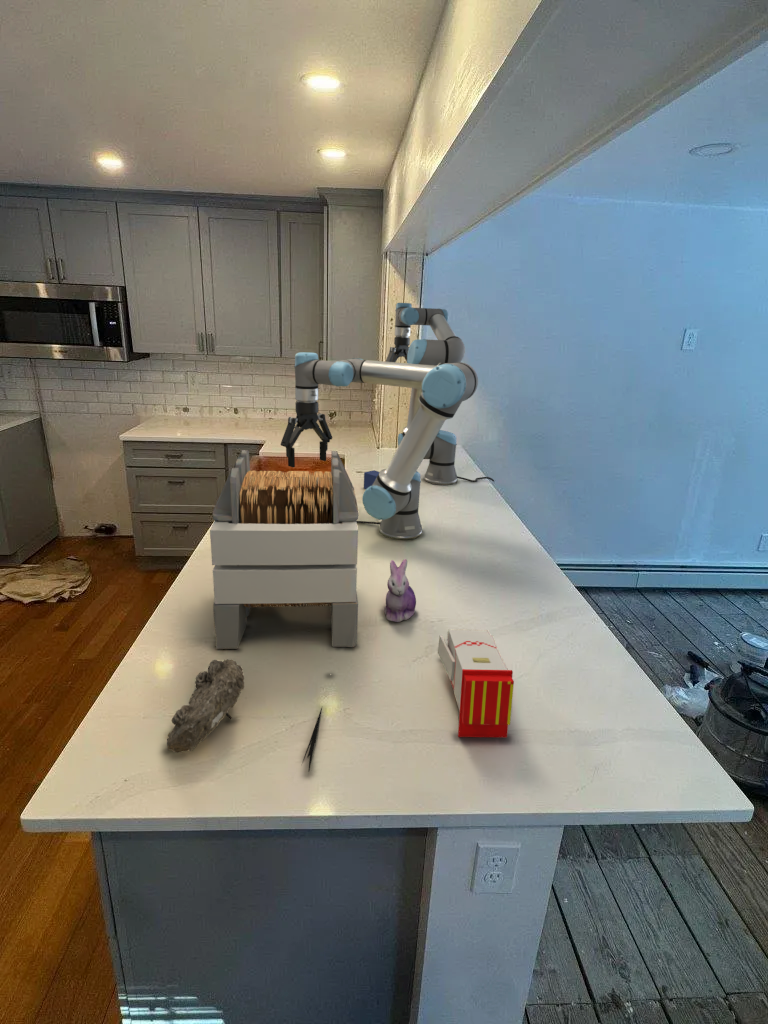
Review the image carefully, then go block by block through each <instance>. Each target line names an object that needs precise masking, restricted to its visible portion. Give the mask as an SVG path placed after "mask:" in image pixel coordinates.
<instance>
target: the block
mask: <svg viewBox="0 0 768 1024" xmlns="http://www.w3.org/2000/svg"><path fill="white" fill-rule="evenodd" d="M379 472H380V471H378V470H375V469H374V470H369V471H364V472H363V490H366V489H367V488H368V487H369V486H372V485H373V483H374V481H375V479H376V478H377V476H378V474H379Z"/></svg>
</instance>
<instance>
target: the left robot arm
mask: <svg viewBox="0 0 768 1024" xmlns="http://www.w3.org/2000/svg"><path fill="white" fill-rule="evenodd" d="M294 381H295V382H294V383H295V385H294V386H295V388H294V399H295V413H296V415H295V417H292V416H288V418H287V425H286V428H285V430H284V433H283V435H282V439H281V441H280V447H281V446H282V447H284V448H285V456H286V458H287V466H288V467H290V468H295V467H296V457H295V451H296V450H295V447H294V445H295V443H296V442H297V441H298V439H299V438H300V436H301V434H302V433H303V432H304V431H307V430H313V431H314V432H315V434H316V435H317V436H318V438H319V439H320V440H321V441H319V460H320V461H323V462H327V451H328V447H329V445H328V444H329V443H330V442H331V440H333V435H332V433H331V430H330V428H329V425H328V423H327V420H326V414H325V413H320V412H319V402H318V401H319V385H326V386H334V387H338V388H339V387H348V386H349V385H350V384H351V383H359V384H371V385H382V386H389V387H390V386H391V387H400V388H409V389H412V388H417V389H422V393H421V395H420V397H419V402H420V408H419V410H418V411H417V413H416V415H415V417H414V419H413V421H412V423H411V424H410V426H409V428H408V430H407V432H406V434H405V436H404V437H403V439H402V441H401V443H400V445H399V447H398V446H397V449H396V450H395V452H394V454H393V456H392V458H391V460H390V461H389V463H388V465H387V467H386V468H384V469H381V470H379V471H378V472H379V474H378V476H377V478H376V479H375V481H374V483H373V485H372V486H369V487H368V488H367V489H364V492H363V493H362V497H361V498H362V499H361V500H362V505H363V507H364V511H366V513H367V514H368V515H369V516H370V517H372V518H373V519H375V520H380V521H381V522H378V521H365V520H356V521H357V524H362V525H363V524H364V525H365V524H366V525H377V526H378V525H379V527H378V533H379V534H380V535H381V536H382V537H385V538H387V539H389V540H395V541H410V540H415V539H418V538H420V537H421V536H422V535H423V525H422V524H421V518H420V515H419V507H420V506H419V505H420V496H421V495H420V494H421V493H420V492H421V483H422V481H421V473H420V472H419V471H418V469H419V467H420V466H421V464H422V462H423V461H424V460H425V459H424V457H425V455H426V453H427V452H428V450H429V448H430V446H431V445H432V443H433V441H434V439H435V438H436V436H437V434H438V432H439V431H440V430H442V427H443V426H444V424H445V422H446V420H451V419H453V418H454V416H455V415H456V413H457V411H458V410H459V408H460V406H461V404H462V403H463V402H464V401H467V400H468V399H470V398H472V396H473V395H474V394H475V393H476V391H477V389H478V385H479V377H478V374H477V372H476V370H475V369H474V367H472V366H471V365H470V364H468V363H467V362H462V361H461V362H456V363H439V364H438V365H437V366H433V365H421V364H408V363H407V362H397V361H396V362H386V361H384V360H382V361H381V360H371V359H363V358H360V357H352V358H349V359H340V360H339V359H337V360H322V359H319V355H318V353H316V352H307V351H305V352H303V351H301V352H296V353H295V356H294ZM318 423H319V424H318Z"/></svg>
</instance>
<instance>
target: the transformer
mask: <svg viewBox="0 0 768 1024" xmlns="http://www.w3.org/2000/svg"><path fill="white" fill-rule="evenodd" d="M330 459H331V460H330V461H331V462H330V466H331V467H330V471H324V472H323V471H320V470H319V471H317V470H316V471H315V470H314V472H310V471H309V470H288V471H281V470H278V471H277V470H259V471H258V470H251V464H250V450H249V449H247V450H246V449H241V450H240V453H239V455H238V457H237V459H236V461H235V463H234V465H233V467H232V468H231V470H230V472H229V474H228V477H227V479H226V481H225V483H224V485H223V488H222V490H221V492H220V495H219V497H218V499H217V501H216V503H215V506H214V507H213V510H212V520H213V523H212V524H211V527H210V529H209V538H210V555H211V565H212V566H214V567H213V569H212V584H213V600H214V601H213V605H212V610H213V611H212V612H213V624H214V633H215V646H214V648H215V649H216V650H222V651H223V649H225V650H227V649H229V650H230V649H233V650H234V649H235V650H237V649H238V648H239V646H240V643H241V641H242V638H243V635H244V633H245V630H246V628H247V618H249V615H250V612H251V608H270V607H272V608H276V607H277V608H279V607H280V608H282V607H285V608H288V607H291V608H294V607H295V608H296V607H306V606H307V607H326V606H328V607H330V617H331V618H330V620H331V621H330V625H331V626H330V627H331V647H333V648H335V647H337V648H338V647H339V648H340V647H347V648H354V647H356V646H358V622H359V621H358V618H359V600H358V592H357V583H358V568H357V564H358V547H359V546H358V545H359V528H358V527H359V526H358V523H357V521H358V520H359V515H360V514H359V507H358V502H357V498H356V497H357V496H356V493H355V492H356V491H355V487H354V485H353V482H352V481H351V478H350V477H349V474H348V472H347V470H346V468H345V465H344V463H343V461H342V459H341V457H340V455H339V453H338V451H337V450H331V458H330Z"/></svg>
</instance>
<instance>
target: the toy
mask: <svg viewBox="0 0 768 1024" xmlns="http://www.w3.org/2000/svg"><path fill="white" fill-rule="evenodd" d="M446 640H447V643H446V641H445V639H444V636H443V635H442V634H439V637H438V646H437V656H438V657H439V659H440V661H441V663H442V666H443V668H444V670H445V672H446V674H447V677H448V679H449V681H450V684H451V687H452V690H453V693H454V697H455V701H456V705H457V708H458V711H459V714H458V715H459V716H458V730H457V731H458V732H457V737H458V738H508V731H509V726H510V725H511V717H512V707H513V697H514V696H513V695H514V684H515V680H514V679H513V673H514V671H513V670H512V669H508V667H507V665H506V662H505V661H504V659H503V658H502V655H501V653H500V651H499V649H498V647H497V643H496V639H495V637H494V635H493V634H491V632H490V631H489V629H467V628H466V629H465V628H463V629H461V628H460V629H459V628H448V630H447V639H446Z"/></svg>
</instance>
